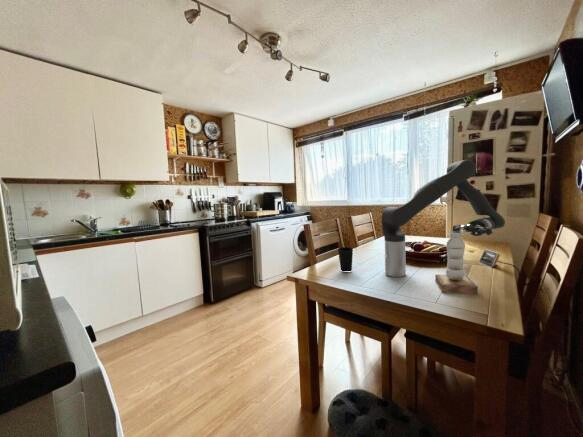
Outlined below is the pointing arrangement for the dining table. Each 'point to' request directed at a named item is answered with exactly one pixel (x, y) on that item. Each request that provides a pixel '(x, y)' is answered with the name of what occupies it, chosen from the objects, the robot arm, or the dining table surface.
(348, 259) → the cup
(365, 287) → the dining table surface
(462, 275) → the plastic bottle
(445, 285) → the plinth
